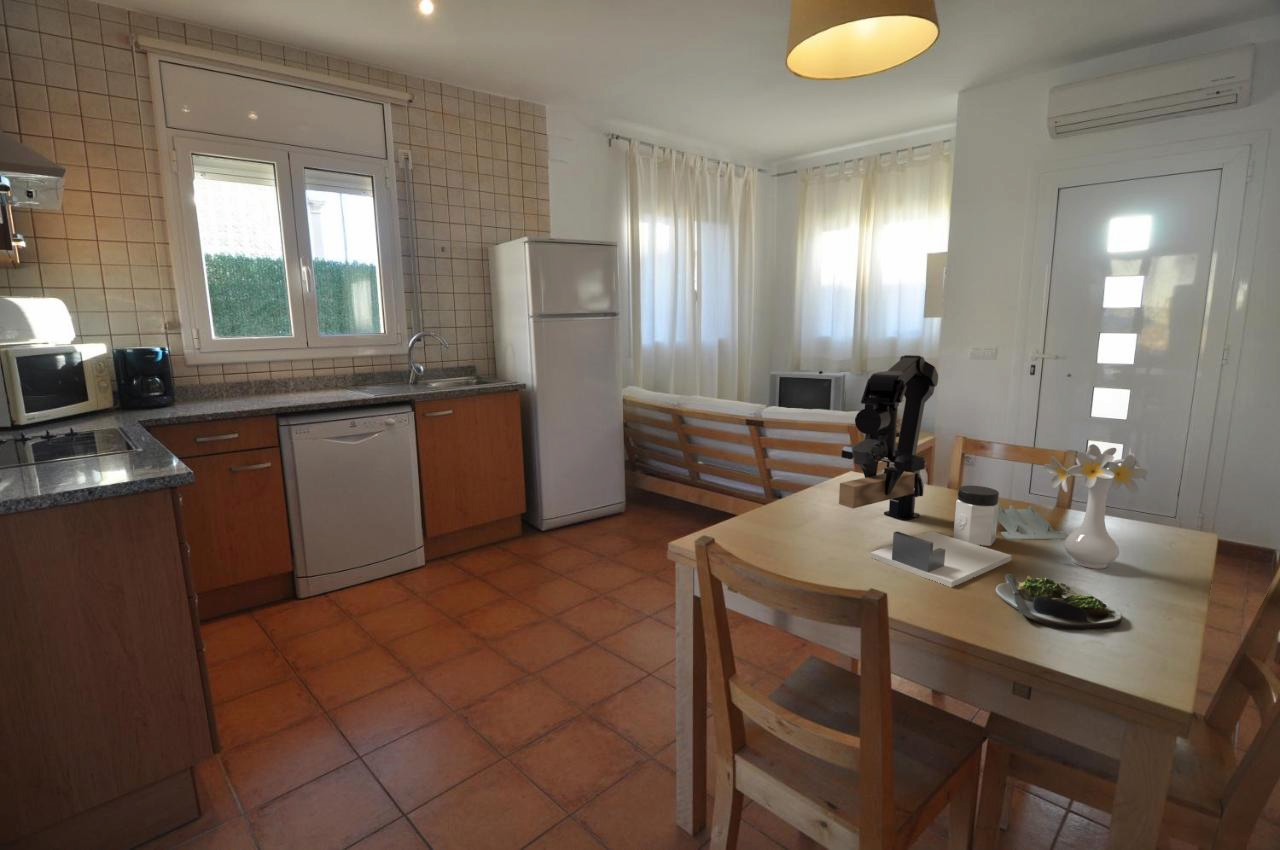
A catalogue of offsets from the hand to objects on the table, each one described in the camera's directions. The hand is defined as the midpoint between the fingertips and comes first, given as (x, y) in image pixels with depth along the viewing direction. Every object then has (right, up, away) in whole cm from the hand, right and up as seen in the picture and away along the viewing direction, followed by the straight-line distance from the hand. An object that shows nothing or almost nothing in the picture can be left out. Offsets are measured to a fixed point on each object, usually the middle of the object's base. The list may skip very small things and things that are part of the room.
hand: (879, 492), depth 143 cm
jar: (+21, -11, -2) cm, 24 cm away
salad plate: (+17, -17, -35) cm, 43 cm away
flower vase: (+37, -13, -17) cm, 43 cm away
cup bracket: (+1, -13, -18) cm, 22 cm away
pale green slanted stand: (+36, -10, +4) cm, 38 cm away
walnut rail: (0, -1, 0) cm, 1 cm away
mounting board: (+8, -13, -13) cm, 20 cm away
